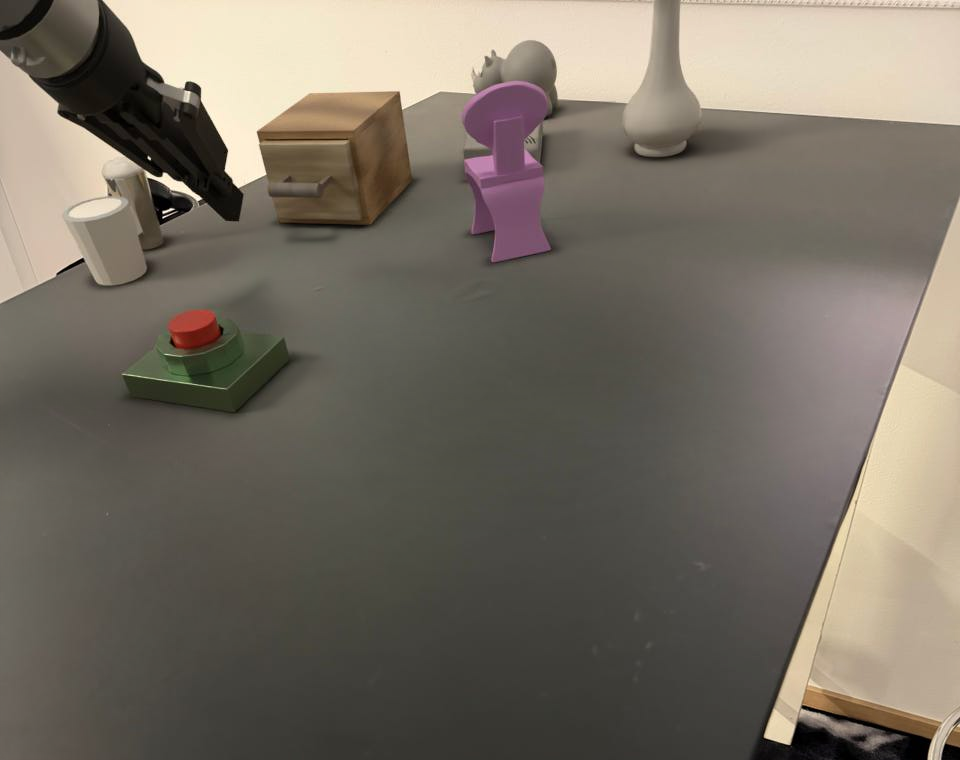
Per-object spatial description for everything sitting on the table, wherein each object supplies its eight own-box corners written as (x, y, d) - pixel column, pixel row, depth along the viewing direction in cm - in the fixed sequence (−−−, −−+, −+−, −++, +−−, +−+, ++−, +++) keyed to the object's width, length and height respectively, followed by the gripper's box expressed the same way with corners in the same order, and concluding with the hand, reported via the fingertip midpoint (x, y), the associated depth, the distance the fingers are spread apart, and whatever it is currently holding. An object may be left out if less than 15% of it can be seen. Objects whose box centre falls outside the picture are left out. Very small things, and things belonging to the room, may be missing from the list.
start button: (165, 348, 74) (157, 329, 72) (193, 326, 76) (186, 307, 75) (203, 353, 72) (196, 333, 71) (230, 330, 75) (224, 311, 74)
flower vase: (585, 135, 112) (582, -120, 94) (733, 129, 108) (759, -139, 90) (571, 172, 103) (565, -102, 85) (732, 167, 99) (761, -121, 81)
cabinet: (370, 224, 98) (353, 130, 91) (279, 222, 101) (256, 131, 94) (412, 180, 107) (399, 91, 100) (327, 179, 110) (309, 93, 103)
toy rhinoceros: (483, 106, 125) (477, 36, 119) (564, 105, 122) (562, 32, 116) (467, 122, 121) (460, 50, 115) (550, 121, 117) (548, 47, 111)
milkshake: (181, 242, 100) (149, 147, 93) (136, 256, 98) (100, 160, 91) (169, 231, 103) (137, 137, 96) (125, 244, 101) (89, 150, 94)
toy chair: (534, 218, 95) (526, 57, 84) (560, 248, 89) (555, 78, 78) (461, 233, 94) (443, 73, 83) (482, 265, 88) (466, 95, 77)
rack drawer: (345, 235, 94) (329, 157, 89) (260, 233, 97) (240, 157, 91) (400, 179, 105) (388, 106, 99) (322, 178, 108) (307, 107, 102)
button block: (130, 396, 76) (112, 354, 73) (191, 346, 81) (176, 305, 79) (234, 412, 72) (219, 368, 69) (290, 359, 78) (278, 316, 75)
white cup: (165, 263, 96) (141, 196, 91) (124, 291, 92) (96, 222, 87) (118, 258, 98) (92, 192, 93) (76, 284, 94) (46, 218, 89)
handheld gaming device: (465, 181, 105) (462, 146, 102) (475, 140, 115) (473, 108, 112) (539, 177, 104) (538, 142, 101) (543, 136, 114) (542, 103, 111)
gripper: (-25, 84, 63) (169, 242, 86) (128, 85, 60) (288, 249, 82) (-7, -18, 63) (183, 167, 86) (147, -23, 60) (301, 171, 82)
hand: (234, 207), depth 84 cm, fingers closed
